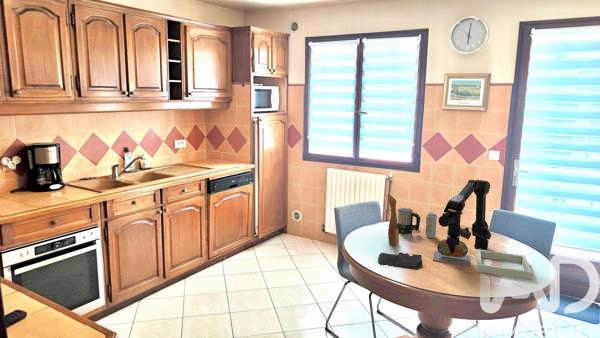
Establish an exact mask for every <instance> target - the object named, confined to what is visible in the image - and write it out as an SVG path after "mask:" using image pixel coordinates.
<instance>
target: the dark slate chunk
mask: <svg viewBox="0 0 600 338" xmlns="http://www.w3.org/2000/svg"><path fill="white" fill-rule="evenodd" d="M422 257H423V256H422V255H421V254H414V253H413V254H412V255H410V254H409V253H407V252H406V253H404V252H398V253H397V254H395V253H387V252H381V253H379V255H378V258H377V263H378V265H379V264H380V266H384V265H388V266H387V267H392V266H393V268H401V269H409V270H417V271H418V270H421V269H422V268H421V267H422V266H423V265H422V264H423V260H422Z"/></svg>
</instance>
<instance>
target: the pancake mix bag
mask: <svg viewBox="0 0 600 338" xmlns="http://www.w3.org/2000/svg"><path fill="white" fill-rule="evenodd" d="M387 200H388V204H389V207H390V218H389V223H388V229H387V238H388V242H389V246H391V245H392V246H391V247H393V246H394V247H395V248H396V247H398V246H399V242H400V236H399V235H400V233H399V232H398V215H397V200H396V199H395V198H394V196H393V195H391V194H390V193H388V194H387ZM394 247H393V248H394Z"/></svg>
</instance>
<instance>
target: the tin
mask: <svg viewBox="0 0 600 338" xmlns="http://www.w3.org/2000/svg"><path fill="white" fill-rule="evenodd" d="M446 240H447V239H442V240H440V241H438V243H437V246H436V249H437V251H438V252H439V253H440V254H441V255H444V256H451V257H459V258H461V257H464V256H465V255H467V254H468V252H469V249H468V246H467V244H466V243H465V242H463V241H461V240H460V242H459V245H456V246H455V249H454V252H453V253H451V251H450V249H449V246H448V244H447V243H446Z"/></svg>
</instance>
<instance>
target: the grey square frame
mask: <svg viewBox="0 0 600 338" xmlns="http://www.w3.org/2000/svg"><path fill="white" fill-rule="evenodd" d="M482 258H485V259H492V260H500V261H506V262H515V263H521V265H522V267H523V269H520V268H519V269H518V268H517V269H516V268H512V267H503V266H497V265H489V264H483V263H482ZM476 263H477V264H476V265H477V272H478V273H485V274H490V275H491V274H492V275H497V276H498V275H500V276H503V277H504V276H505V277H512V278H518V279H525V280H532V279H533V271H532V269H531V267H530V264H529V262H528V259H527V257H526V255H522V254H515V253H507V252H500V251H494V250H493V251H491V250H484V249H477V248H476Z"/></svg>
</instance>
